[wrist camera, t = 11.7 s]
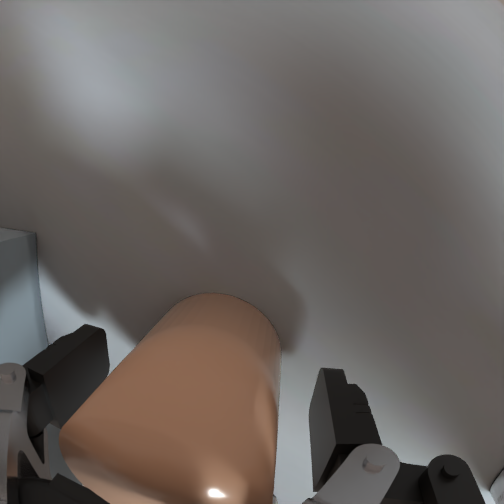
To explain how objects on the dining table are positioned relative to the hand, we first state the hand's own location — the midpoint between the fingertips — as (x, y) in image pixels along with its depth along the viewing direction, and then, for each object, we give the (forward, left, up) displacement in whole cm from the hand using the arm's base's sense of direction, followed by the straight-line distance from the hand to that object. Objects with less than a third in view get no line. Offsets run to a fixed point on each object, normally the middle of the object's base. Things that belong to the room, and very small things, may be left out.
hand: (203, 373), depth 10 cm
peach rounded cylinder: (0, 0, -2) cm, 2 cm away
